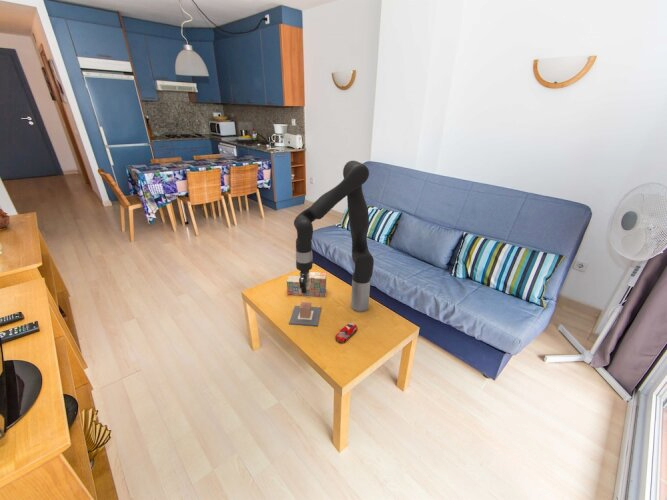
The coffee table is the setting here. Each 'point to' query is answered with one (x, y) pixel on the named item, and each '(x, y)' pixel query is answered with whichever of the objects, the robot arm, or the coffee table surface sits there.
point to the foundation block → (305, 310)
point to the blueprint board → (305, 321)
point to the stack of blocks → (316, 285)
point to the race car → (346, 332)
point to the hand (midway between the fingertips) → (305, 289)
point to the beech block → (306, 286)
